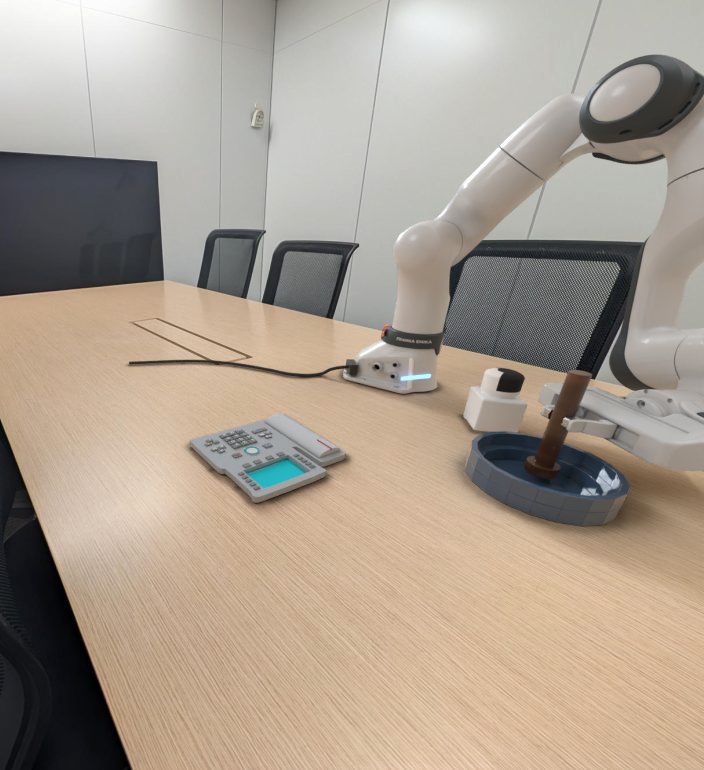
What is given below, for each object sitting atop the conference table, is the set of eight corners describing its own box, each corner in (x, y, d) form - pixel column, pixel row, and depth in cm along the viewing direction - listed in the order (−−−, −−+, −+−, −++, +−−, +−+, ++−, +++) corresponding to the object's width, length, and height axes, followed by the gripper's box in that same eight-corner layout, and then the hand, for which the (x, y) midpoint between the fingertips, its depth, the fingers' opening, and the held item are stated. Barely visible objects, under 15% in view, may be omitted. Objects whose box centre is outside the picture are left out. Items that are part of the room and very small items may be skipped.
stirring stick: (525, 473, 58) (563, 374, 52) (522, 461, 61) (558, 366, 55) (559, 482, 56) (604, 380, 50) (555, 469, 59) (596, 370, 53)
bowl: (463, 498, 56) (472, 471, 54) (464, 445, 69) (471, 422, 67) (633, 549, 47) (651, 517, 45) (597, 476, 60) (609, 450, 58)
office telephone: (284, 407, 80) (362, 451, 64) (283, 418, 81) (359, 464, 65) (188, 433, 71) (251, 493, 54) (189, 445, 72) (250, 507, 55)
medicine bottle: (502, 420, 78) (520, 366, 73) (516, 437, 72) (537, 379, 67) (462, 416, 80) (477, 363, 75) (473, 432, 74) (490, 375, 69)
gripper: (600, 373, 62) (511, 373, 63) (763, 436, 43) (633, 434, 44) (585, 407, 65) (500, 406, 66) (734, 481, 46) (611, 477, 47)
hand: (555, 418), depth 55 cm, fingers closed on stirring stick, 2 cm apart
